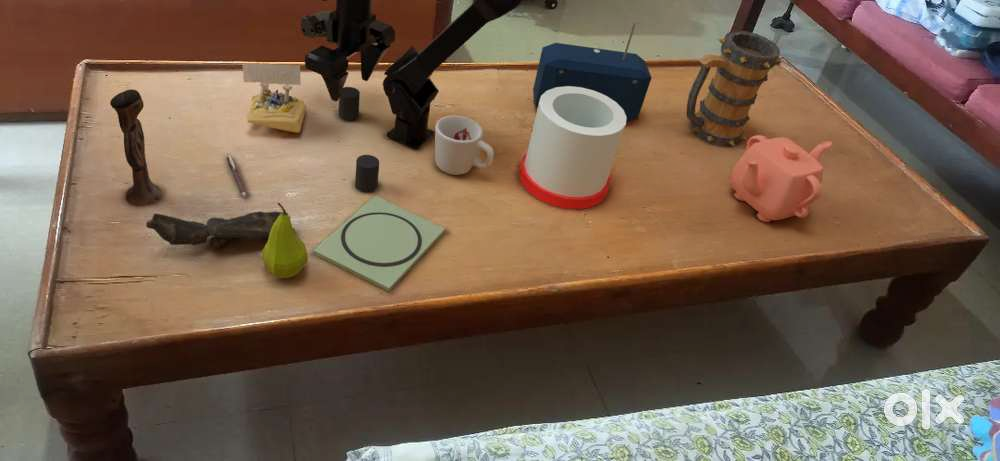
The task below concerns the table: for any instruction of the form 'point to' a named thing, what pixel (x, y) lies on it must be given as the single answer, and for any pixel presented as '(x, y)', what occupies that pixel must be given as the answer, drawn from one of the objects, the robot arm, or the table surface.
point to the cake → (275, 97)
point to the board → (380, 242)
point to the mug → (731, 87)
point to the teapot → (778, 177)
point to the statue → (213, 228)
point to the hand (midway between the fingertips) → (350, 90)
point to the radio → (595, 74)
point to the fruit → (284, 249)
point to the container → (572, 147)
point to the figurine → (135, 148)
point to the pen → (236, 175)
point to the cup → (459, 145)
